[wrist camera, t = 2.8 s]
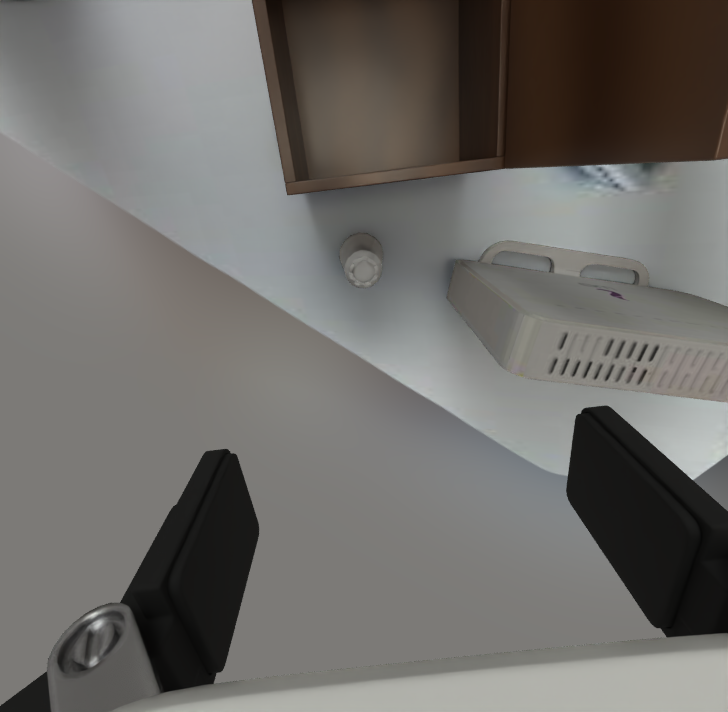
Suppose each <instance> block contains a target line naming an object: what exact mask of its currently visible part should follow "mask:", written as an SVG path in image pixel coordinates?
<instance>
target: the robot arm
mask: <svg viewBox="0 0 728 712" xmlns="http://www.w3.org/2000/svg"><path fill="white" fill-rule="evenodd" d="M566 492H567V497H568V500H569V502H570V504H571V505H572V507H573V508H574V510H575V511H576V513H577V514H578V516H579V517H580V519H581V520H582V522H583V523H584V525H585V526H586V528H587V529H588V531H589V532H590V534H591V535H592V537H593V538H594V540H595V541H596V543H597V544H598V546H599V547H600V549H601V550H602V552H603V553H604V555H605V556H606V558H607V559H608V560H609V562H610V563H611V565H612V566H613V568H614V569H615V571H616V572H617V574H618V575H619V577H620V578H621V580H622V581H623V583H624V584H625V586H626V587H627V589H628V590H629V592H630V593H631V595H632V596H633V598H634V599H635V601H636V602H637V604H638V605H639V607H640V608H641V610H642V611H643V613H644V614H645V616H646V617H647V619H648V620H649V621H650V623H651V624H652V625H653V626H654V627H656V628H661V629H662V631H663V632H664V634H665V635H666V638H653V639H642V640H630V641H620V642H609V643H598V644H588V645H577V646H566V647H556V648H545V649H535V650H524V651H515V652H504V653H494V654H485V655H474V656H464V657H454V658H444V659H435V660H424V661H414V662H404V663H395V664H385V665H376V666H366V667H356V668H347V669H338V670H328V671H319V672H309V673H300V674H290V675H281V676H273V677H265V678H257V679H249V680H241V681H233V682H225V683H217V684H214V680H215V676H216V673H218V672H221V671H222V670H223V669H224V666H225V663H226V659H227V656H228V652H229V648H230V644H231V640H232V637H233V633H234V629H235V625H236V621H237V617H238V614H239V610H240V606H241V602H242V598H243V594H244V591H245V587H246V583H247V579H248V575H249V571H250V568H251V564H252V560H253V556H254V552H255V548H256V544H257V541H258V536H259V524H258V520H257V517H256V514H255V511H254V508H253V504H252V501H251V498H250V495H249V492H248V489H247V486H246V483H245V480H244V476H243V473H242V470H241V467H240V464H239V461H238V457H237V455H236V454H231V453H230V451H229V450H228V449H221V450H213V451H207V452H205V453H204V455H203V456H202V458H201V460H200V462H199V464H198V466H197V468H196V469H195V471H194V473H193V475H192V477H191V479H190V481H189V482H188V484H187V486H186V488H185V490H184V492H183V494H182V496H181V497H180V499H179V501H178V503H177V504H176V505H175V506H173V508H172V509H171V511H170V512H169V514H168V516H167V518H166V519H165V522H164V523H163V525H162V527H161V529H160V530H159V532H158V534H157V536H156V538H155V540H154V541H153V543H152V545H151V547H150V549H149V551H148V552H147V554H146V556H145V558H144V560H143V562H142V563H141V565H140V567H139V569H138V571H137V573H136V574H135V576H134V578H133V580H132V582H131V584H130V586H129V588H128V589H127V591H126V593H125V595H124V596H123V598H122V600H121V602H120V603H109V604H105V605H102V606H99V607H97V608H95V609H93V610H91V611H89V612H88V613H86V614H84V615H83V616H82V617H80V618H79V619H78V620H77V621H75V622H74V623H73V624H72V625H71V626H70V627H69V628H68V629H67V630H66V631H65V632H64V633H63V634H62V636H61V637H60V638H59V640H58V641H57V643H56V644H55V645H54V647H53V649H52V652H51V654H50V656H49V658H48V666H47V672H45V673H44V674H43V675H41V676H40V677H39V678H37V679H36V680H35V681H33V682H32V683H31V684H29V685H28V686H27V687H25V688H24V689H22V690H21V691H20V692H19V693H17V694H16V695H14V696H13V697H12V698H11V699H9V700H8V701H6V702H5V703H4V704H2V705H1V706H0V712H728V511H727V510H726V509H724V508H723V507H722V506H721V505H720V504H719V503H718V502H717V501H715V500H714V499H713V498H712V497H711V496H710V495H709V494H707V493H706V492H705V491H704V490H703V489H702V488H701V487H700V486H699V485H697V484H696V483H695V482H694V481H693V480H692V479H691V478H690V477H688V476H687V475H686V474H685V473H684V472H683V471H682V470H681V469H679V468H678V467H677V466H676V465H675V464H674V463H673V462H672V461H670V460H669V459H668V458H667V457H666V456H665V455H664V454H663V453H661V452H660V451H659V450H658V449H657V448H656V447H655V446H654V445H652V444H651V443H650V442H649V441H648V440H647V439H646V438H645V437H643V436H642V435H641V434H640V433H639V432H638V431H637V430H636V429H634V428H633V427H632V426H631V425H630V424H629V423H628V422H627V421H625V420H624V419H623V418H622V417H621V416H620V415H619V414H618V413H616V412H615V411H614V410H613V409H612V408H611V407H609V406H597V407H588V408H584V409H583V410H582V412H581V414H578V415H577V416H576V419H575V426H574V433H573V441H572V449H571V457H570V465H569V472H568V480H567V489H566Z"/></svg>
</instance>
